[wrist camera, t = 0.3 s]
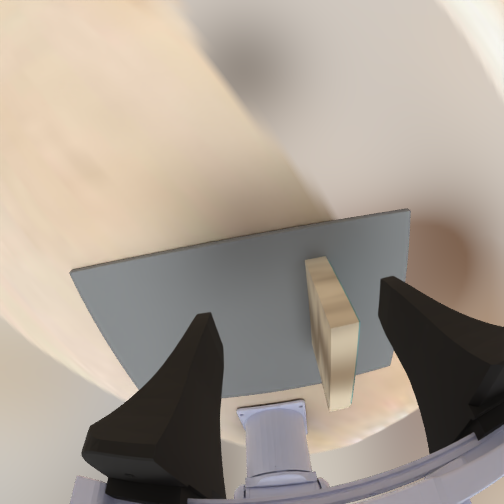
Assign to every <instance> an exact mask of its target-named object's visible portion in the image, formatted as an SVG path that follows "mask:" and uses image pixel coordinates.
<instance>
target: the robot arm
mask: <svg viewBox="0 0 504 504" xmlns="http://www.w3.org/2000/svg"><path fill="white" fill-rule="evenodd" d="M378 317H379V320H380V322H381V325H382V327H383V330H384V332H385V335H386V337H387V338H388V340H389V342H390V344H391V346H392V347H393V349H394V351H395V353H396V355H397V356H398V358H399V360H400V362H401V364H402V366H403V368H404V369H405V371H406V373H407V375H408V378H409V380H410V382H411V385H412V388H413V391H414V393H415V396H416V399H417V402H418V406H419V409H420V412H421V416H422V420H423V423H424V427H425V432H426V436H427V442H428V447H429V453H430V455H427V456H425V457H423V458H421V459H418V460H416V461H413V462H411V463H408V464H405V465H403V466H400V467H397V468H395V469H392V470H389V471H386V472H383V473H380V474H377V475H374V476H370V477H367V478H364V479H360V480H357V481H353V482H349V483H345V484H341V485H337V486H332V487H330V486H329V484H328V482H327V481H325V480H324V479H323V478H321V477H320V478H317V476H316V472H312V468H311V462H310V456H309V450H308V444H307V438H306V434H307V421H306V410H305V401H304V400H297V401H291V402H285V403H278V404H272V405H265V406H257V407H249V408H240V409H237V415H238V417H239V419H240V421H241V423H242V425H243V427H244V429H245V431H246V458H247V478H246V479H245V480H246V487H245V485H239V487H238V488H236V489H235V493H234V499H226V494H225V485H224V478H223V467H222V456H221V439H220V407H221V396H222V385H223V374H224V350H223V344H222V341H221V339H220V336H219V333H218V330H217V328H216V325H215V322H214V319H213V316H212V314H211V312H207V313H200V314H197V315H196V316H195V318H194V319H193V321H192V322H191V324H190V325H189V327H188V329H187V330H186V332H185V333H184V335H183V337H182V338H181V340H180V341H179V343H178V344H177V346H176V347H175V349H174V350H173V352H172V353H171V354H170V356H169V357H168V358H167V360H166V361H165V362H164V364H163V365H162V366H161V368H160V369H159V370H158V371H157V372H156V373H155V375H154V376H153V377H152V378H151V379H150V380H149V381H148V382H147V383H146V384H145V385H144V386H143V387H142V388H141V389H140V390H139V391H138V392H137V393H135V394H134V395H133V396H132V397H131V398H130V399H129V400H128V401H126V402H125V403H124V404H123V405H121V406H120V407H119V408H117V409H116V410H115V411H113V412H112V413H111V414H109V415H107V416H106V417H104V418H102V419H101V420H99V421H98V422H96V423H94V424H93V425H91V426H90V428H89V430H88V433H87V437H86V440H85V443H84V446H83V449H82V457H83V458H84V460H85V461H86V462H87V463H88V464H90V465H91V466H92V467H94V468H95V469H97V470H98V471H100V472H101V473H103V474H104V475H106V476H107V477H108V481H107V483H105V482H102V481H99V480H96V479H91V478H87V477H84V476H80V475H79V476H77V477H76V481H75V485H74V489H73V493H72V497H71V501H70V504H346V503H350V502H354V501H358V500H361V499H365V498H368V497H371V496H375V495H378V494H381V493H384V492H387V491H390V490H393V489H395V488H398V487H401V486H403V485H406V484H409V483H411V482H414V481H416V480H418V479H421V478H423V477H425V476H426V477H425V478H424V480H422V481H419V482H417V483H414V484H412V485H409V486H407V487H404V488H401V489H399V490H396V491H393V492H390V493H388V494H385V495H381V496H379V497H375V498H372V499H369V500H366V501H362V502H358V503H355V504H471V501H470V498H471V497H473V496H474V495H476V494H478V493H479V492H481V491H482V490H484V489H486V488H487V487H489V486H490V485H491V484H493V483H495V482H496V481H497V480H499V479H500V478H501V477H503V476H504V327H501V326H497V325H493V324H489V323H485V322H483V321H480V320H476V319H474V318H471V317H469V316H466V315H464V314H462V313H459V312H457V311H455V310H453V309H450V308H448V307H446V306H445V305H443V304H441V303H439V302H437V301H435V300H433V299H432V298H430V297H428V296H426V295H425V294H423V293H421V292H420V291H418V290H416V289H415V288H413V287H412V286H410V285H408V284H407V283H405V282H403V281H402V280H400V279H398V278H397V277H395V276H389V277H385V278H381V279H380V295H379V308H378Z"/></svg>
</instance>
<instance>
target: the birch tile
mask: <svg viewBox="0 0 504 504" xmlns="http://www.w3.org/2000/svg"><path fill="white" fill-rule="evenodd" d="M305 268H306V278H307V288H308V299H309V311H310V323H311V337H312V346H313V350H314V354H315V358H316V361H317V365H318V369H319V373H320V377H321V380H322V384H323V388H324V392H325V396H326V400H327V404H328V408H329V412H332V411H337V410H341V409H345V408H349V407H350V404H351V403H352V397H353V390H354V382H355V374H356V366H357V356H358V346H359V335H360V320H359V318H358V316H357V314H356V312H355V310H354V308H353V306H352V304H351V302H350V300H349V298H348V296H347V294H346V292H345V290H344V288H343V286H342V284H341V282H340V280H339V278H338V276H337V275H336V273H335V271H334V269H333V267H332V265H331V263H330V261H329V260H327V258H326V256H324V257H318V258H313V259H307V260H305Z"/></svg>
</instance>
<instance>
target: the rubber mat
mask: <svg viewBox="0 0 504 504" xmlns="http://www.w3.org/2000/svg"><path fill="white" fill-rule="evenodd" d="M410 213H411V211H410V210H409V209H401V210H395V211H389V212H382V213H376V214H370V215H364V216H357V217H351V218H345V219H339V220H333V221H327V222H321V223H316V224H310V225H304V226H298V227H293V228H287V229H281V230H276V231H270V232H264V233H259V234H253V235H248V236H242V237H237V238H231V239H226V240H221V241H215V242H210V243H205V244H199V245H194V246H189V247H184V248H178V249H173V250H168V251H163V252H158V253H153V254H148V255H143V256H138V257H133V258H128V259H123V260H118V261H113V262H108V263H103V264H98V265H93V266H89V267H84V268H79V269H74V270H71V272H70V276H71V278H72V280H73V282H74V284H75V286H76V288H77V290H78V292H79V294H80V296H81V298H82V299H83V301H84V303H85V305H86V307H87V309H88V311H89V312H90V314H91V316H92V318H93V320H94V321H95V323H96V325H97V327H98V328H99V330H100V332H101V333H102V335H103V337H104V338H105V340H106V342H107V343H108V345H109V346H110V348H111V350H112V351H113V353H114V354H115V356H116V357H117V359H118V360H119V362H120V364H121V365H122V366H123V368H124V369H125V371H126V372H127V374H128V375H129V377H130V378H131V380H132V381H133V382H134V384H135V385H136V387H137V388H138V389H139V390H140V389H141V388H142V387H143V386H144V385H145V384H146V383H147V382H148V381H149V380H150V379H151V378H152V377H153V376H154V375H155V373H156V372H157V371H158V370H159V369H160V368H161V366H162V365H163V364H164V362H165V361H166V360H167V358H168V357H169V356H170V354H171V353H172V352H173V350H174V349H175V347H176V346H177V344H178V343H179V341H180V340H181V338H182V337H183V335H184V333H185V332H186V330H187V329H188V327H189V325H190V324H191V322H192V321H193V319H194V318H195V316H196V315H197V314H200V313H207V312H211V314H212V316H213V319H214V322H215V325H216V328H217V330H218V333H219V336H220V339H221V341H222V344H223V350H224V374H223V385H222V396H221V398H228V397H238V396H247V395H255V394H262V393H269V392H276V391H282V390H288V389H294V388H299V387H305V386H310V385H315V384H320V383H322V380H321V377H320V373H319V369H318V365H317V361H316V358H315V354H314V350H313V346H312V337H311V323H310V311H309V299H308V288H307V278H306V268H305V260H307V259H313V258H318V257H324V256H326V258H327V260H329V261H330V263H331V265H332V267H333V269H334V271H335V273H336V275H337V276H338V278H339V280H340V282H341V284H342V286H343V288H344V290H345V292H346V294H347V296H348V298H349V300H350V302H351V304H352V306H353V308H354V310H355V312H356V314H357V316H358V318H359V320H360V335H359V346H358V356H357V366H356V374H355V375H358V374H362V373H366V372H369V371H373V370H377V369H380V368H383V367H387V366H390V364H391V359H392V355H393V351H394V349H393V347H392V346H391V344H390V342H389V340H388V338H387V337H386V335H385V332H384V330H383V327H382V325H381V322H380V320H379V317H378V308H379V295H380V279H381V278H385V277H389V276H395V277H397V278H398V279H400V280H402V281H403V282H405V279H406V270H407V259H408V247H409V234H410Z"/></svg>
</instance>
